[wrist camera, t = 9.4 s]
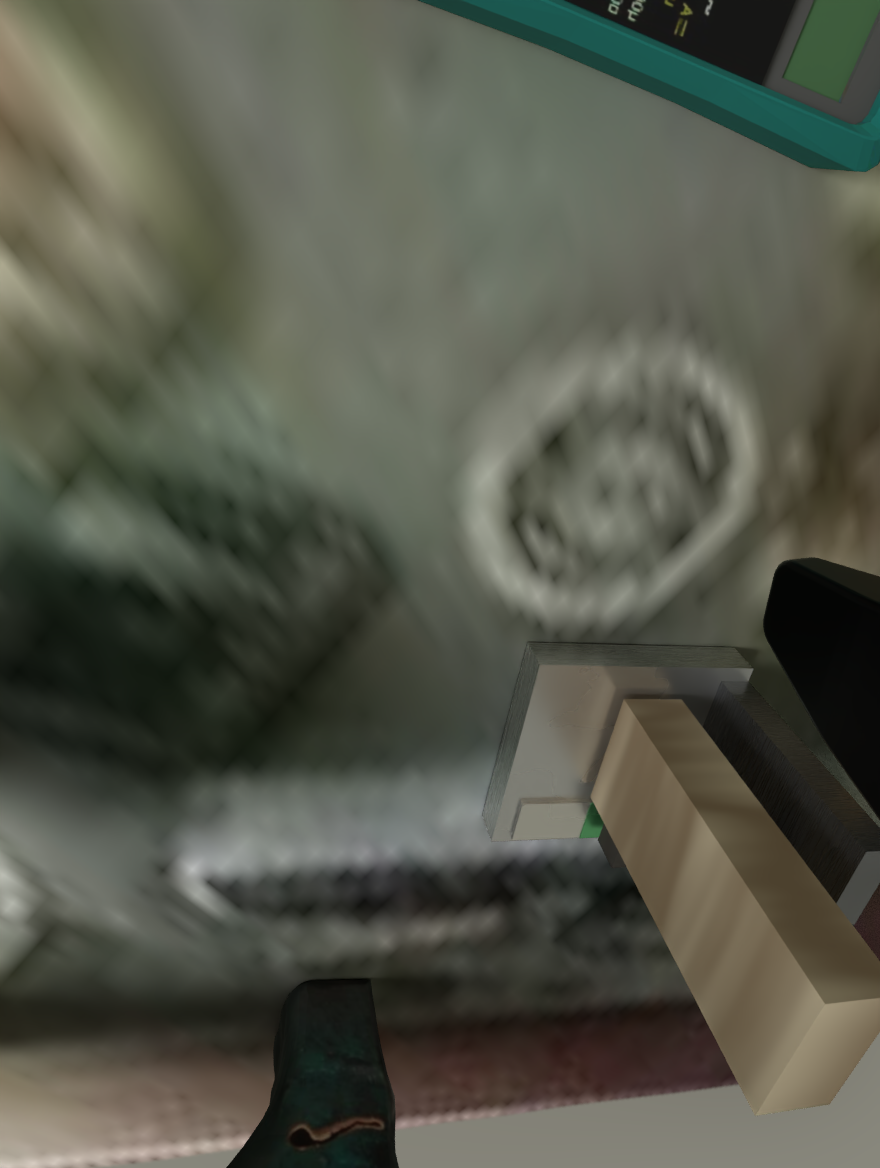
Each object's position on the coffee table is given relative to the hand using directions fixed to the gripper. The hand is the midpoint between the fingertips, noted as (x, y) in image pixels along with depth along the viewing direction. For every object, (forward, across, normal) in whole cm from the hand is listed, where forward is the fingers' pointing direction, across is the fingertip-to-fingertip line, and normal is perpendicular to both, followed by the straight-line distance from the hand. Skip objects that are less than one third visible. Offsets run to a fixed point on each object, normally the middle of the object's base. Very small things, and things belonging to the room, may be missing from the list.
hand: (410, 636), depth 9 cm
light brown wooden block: (+10, -9, +14) cm, 19 cm away
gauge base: (+12, -9, +12) cm, 19 cm away
